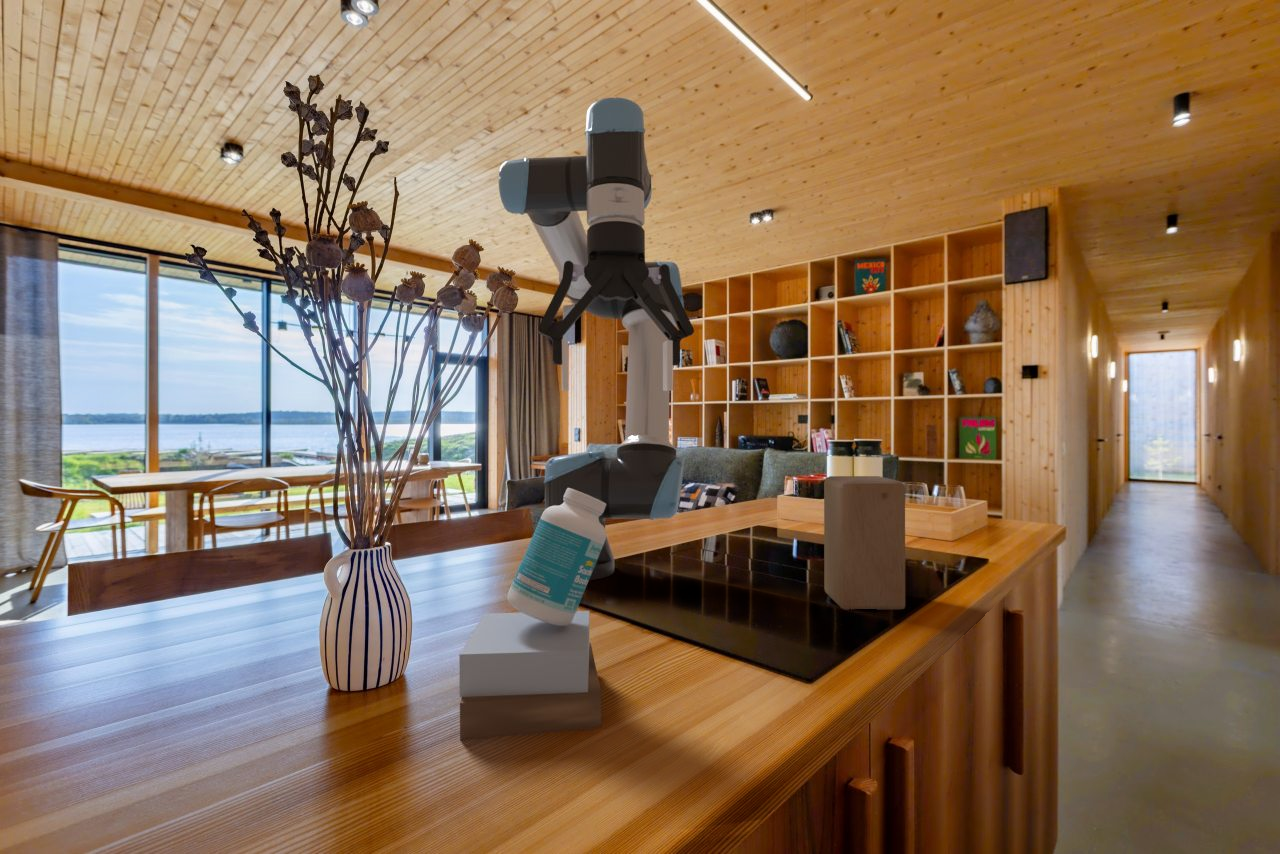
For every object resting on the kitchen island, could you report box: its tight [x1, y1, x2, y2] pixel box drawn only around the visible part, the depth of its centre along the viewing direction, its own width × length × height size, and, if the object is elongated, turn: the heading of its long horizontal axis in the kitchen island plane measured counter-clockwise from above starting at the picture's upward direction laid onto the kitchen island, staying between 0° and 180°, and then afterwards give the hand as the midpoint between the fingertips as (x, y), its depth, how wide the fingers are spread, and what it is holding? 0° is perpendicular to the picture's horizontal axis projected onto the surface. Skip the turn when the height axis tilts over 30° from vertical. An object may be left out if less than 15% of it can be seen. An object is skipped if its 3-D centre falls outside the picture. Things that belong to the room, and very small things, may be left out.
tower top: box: [458, 610, 590, 698], centre depth 61 cm, size 12×12×4 cm
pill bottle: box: [506, 488, 607, 626], centre depth 63 cm, size 8×7×14 cm
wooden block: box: [823, 475, 906, 611], centre depth 94 cm, size 10×10×20 cm
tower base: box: [459, 642, 602, 741], centre depth 61 cm, size 13×13×4 cm
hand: (617, 391), depth 77 cm, fingers open, 13 cm apart
